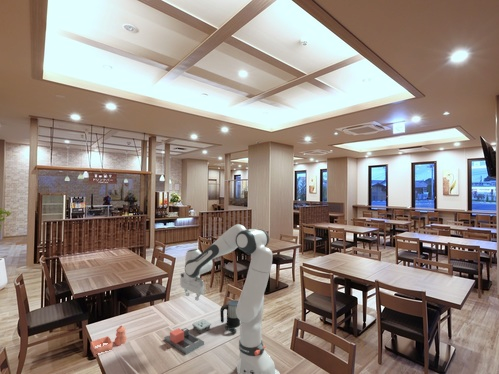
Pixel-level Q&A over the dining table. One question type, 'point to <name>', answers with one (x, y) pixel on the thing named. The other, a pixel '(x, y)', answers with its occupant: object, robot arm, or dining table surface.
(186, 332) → the breaker
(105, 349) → the pottery
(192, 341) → the panel
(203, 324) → the electrical switch
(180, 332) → the lockout cap
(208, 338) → the dining table surface
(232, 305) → the milk frother
